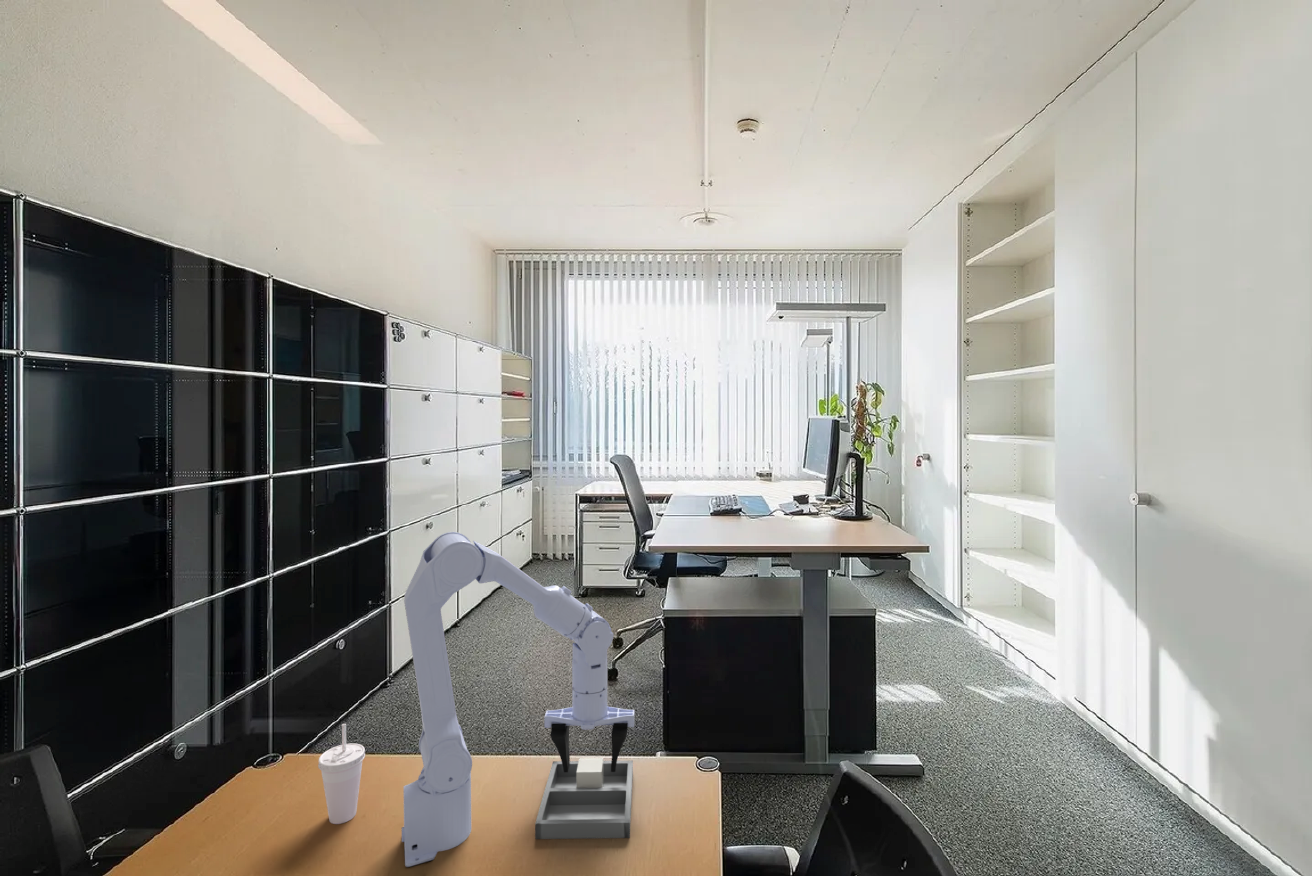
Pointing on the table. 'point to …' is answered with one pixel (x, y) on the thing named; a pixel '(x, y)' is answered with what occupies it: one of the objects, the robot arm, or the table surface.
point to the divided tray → (586, 804)
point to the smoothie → (342, 779)
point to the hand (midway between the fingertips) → (590, 768)
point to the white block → (590, 773)
